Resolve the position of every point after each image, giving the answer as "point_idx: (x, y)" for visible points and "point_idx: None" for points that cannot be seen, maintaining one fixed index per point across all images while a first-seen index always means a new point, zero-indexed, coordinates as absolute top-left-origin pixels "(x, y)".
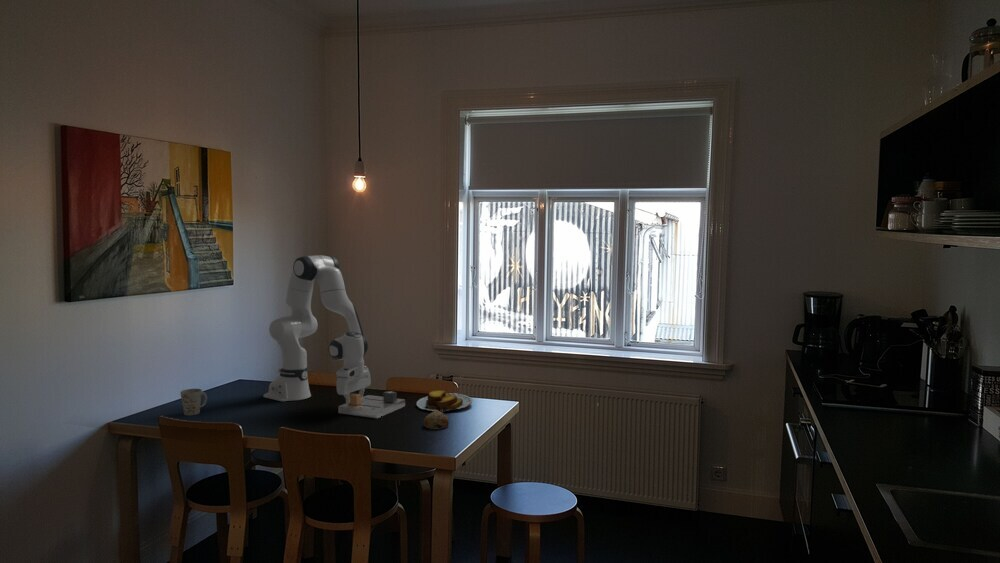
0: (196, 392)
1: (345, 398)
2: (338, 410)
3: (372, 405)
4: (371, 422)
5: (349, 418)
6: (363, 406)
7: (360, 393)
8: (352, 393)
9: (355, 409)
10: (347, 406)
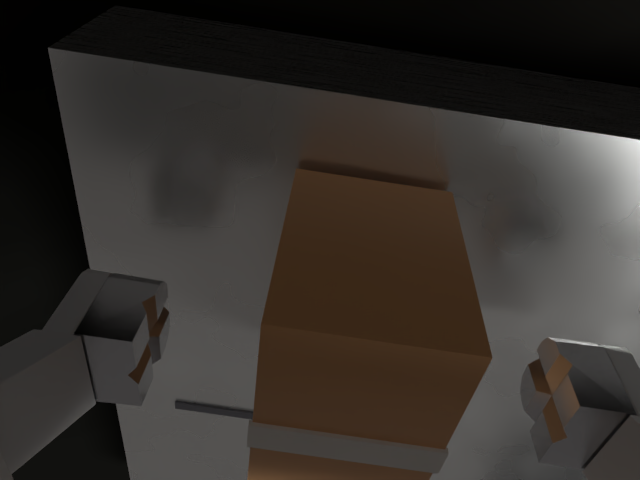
0: None
1: (17, 343)
2: (91, 23)
3: None
4: (46, 465)
5: (6, 284)
6: None
7: (621, 454)
8: (471, 382)
9: None
10: (143, 234)
